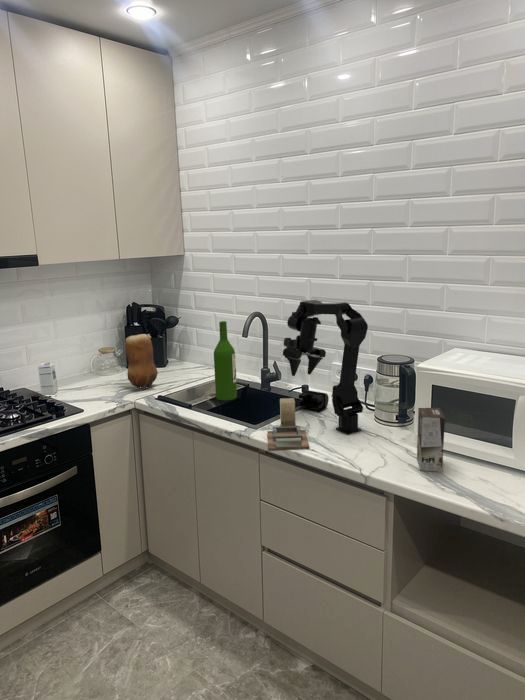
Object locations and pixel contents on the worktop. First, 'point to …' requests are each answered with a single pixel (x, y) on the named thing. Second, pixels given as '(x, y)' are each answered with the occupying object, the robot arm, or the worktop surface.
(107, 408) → the worktop surface
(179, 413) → the worktop surface
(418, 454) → the coffee box
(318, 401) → the end cap
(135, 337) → the butternut squash
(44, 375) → the syrup box
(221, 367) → the wine bottle
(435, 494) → the worktop surface
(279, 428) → the shunted jig
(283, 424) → the tan wooden block
